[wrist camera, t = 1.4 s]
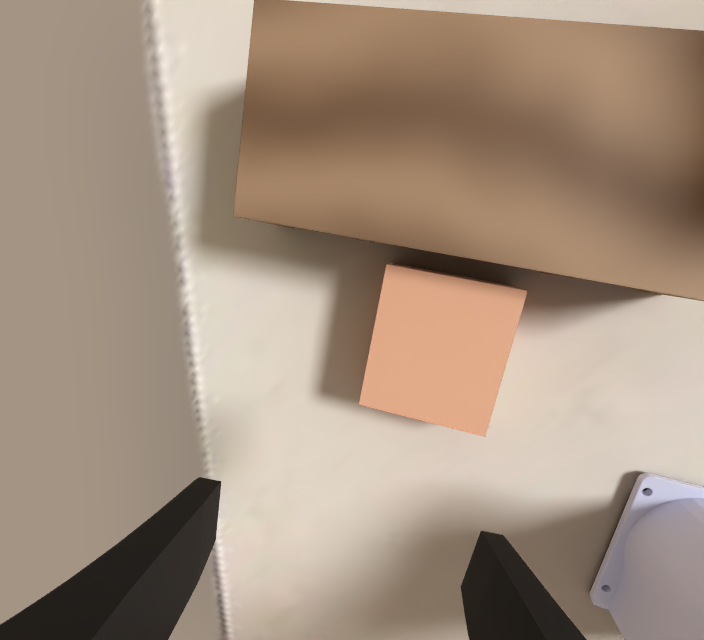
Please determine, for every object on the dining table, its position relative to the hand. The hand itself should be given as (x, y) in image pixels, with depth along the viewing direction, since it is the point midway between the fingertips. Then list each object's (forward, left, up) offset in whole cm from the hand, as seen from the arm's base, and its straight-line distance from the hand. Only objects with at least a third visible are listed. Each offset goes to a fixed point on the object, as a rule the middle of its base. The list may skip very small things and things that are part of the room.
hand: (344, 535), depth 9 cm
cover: (+3, -2, -13) cm, 14 cm away
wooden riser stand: (+12, -2, -13) cm, 18 cm away
